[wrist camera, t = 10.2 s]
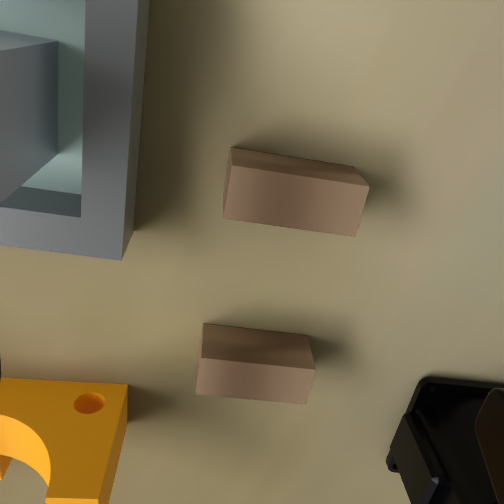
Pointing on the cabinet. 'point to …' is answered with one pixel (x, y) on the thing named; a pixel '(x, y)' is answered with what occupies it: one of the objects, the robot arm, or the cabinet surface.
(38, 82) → the plug
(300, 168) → the brown blocks
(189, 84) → the cabinet surface
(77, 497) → the pipe clamp
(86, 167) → the port
